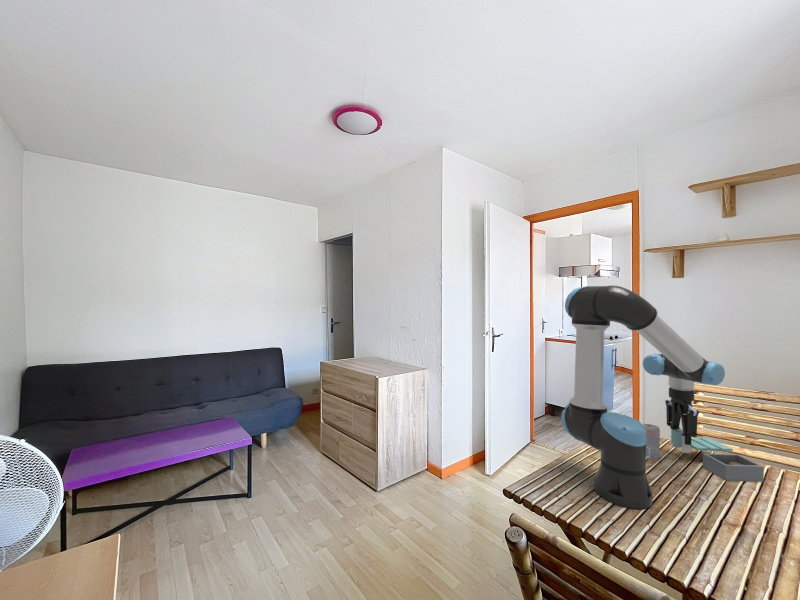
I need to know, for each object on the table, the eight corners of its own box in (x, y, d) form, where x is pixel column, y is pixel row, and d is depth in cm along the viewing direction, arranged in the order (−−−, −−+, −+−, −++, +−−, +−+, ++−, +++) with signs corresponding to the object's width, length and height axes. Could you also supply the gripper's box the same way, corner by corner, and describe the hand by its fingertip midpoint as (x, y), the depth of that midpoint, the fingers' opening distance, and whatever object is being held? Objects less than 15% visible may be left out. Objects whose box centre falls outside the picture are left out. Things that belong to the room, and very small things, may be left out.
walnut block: (738, 475, 116) (738, 466, 116) (728, 471, 119) (728, 462, 119) (745, 474, 116) (745, 465, 116) (734, 470, 119) (735, 461, 119)
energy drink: (653, 454, 132) (654, 424, 132) (662, 461, 127) (663, 429, 127) (639, 454, 132) (639, 423, 132) (647, 460, 127) (647, 428, 127)
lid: (684, 451, 124) (685, 436, 124) (666, 440, 134) (666, 426, 134) (732, 452, 124) (732, 437, 124) (710, 441, 133) (710, 427, 133)
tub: (725, 482, 112) (725, 465, 112) (702, 468, 121) (702, 453, 121) (763, 483, 112) (763, 466, 112) (737, 469, 121) (737, 454, 121)
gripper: (711, 394, 120) (710, 460, 120) (674, 382, 137) (674, 440, 137) (689, 394, 121) (688, 460, 121) (655, 382, 138) (654, 440, 138)
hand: (680, 449), depth 129 cm, fingers closed on lid, 4 cm apart
